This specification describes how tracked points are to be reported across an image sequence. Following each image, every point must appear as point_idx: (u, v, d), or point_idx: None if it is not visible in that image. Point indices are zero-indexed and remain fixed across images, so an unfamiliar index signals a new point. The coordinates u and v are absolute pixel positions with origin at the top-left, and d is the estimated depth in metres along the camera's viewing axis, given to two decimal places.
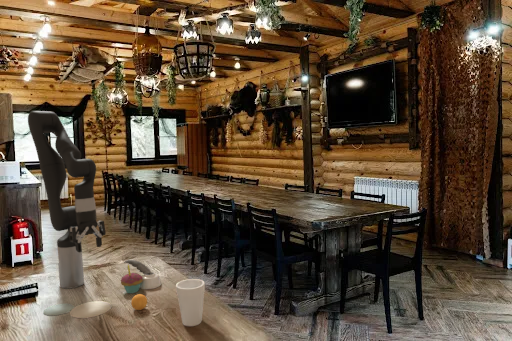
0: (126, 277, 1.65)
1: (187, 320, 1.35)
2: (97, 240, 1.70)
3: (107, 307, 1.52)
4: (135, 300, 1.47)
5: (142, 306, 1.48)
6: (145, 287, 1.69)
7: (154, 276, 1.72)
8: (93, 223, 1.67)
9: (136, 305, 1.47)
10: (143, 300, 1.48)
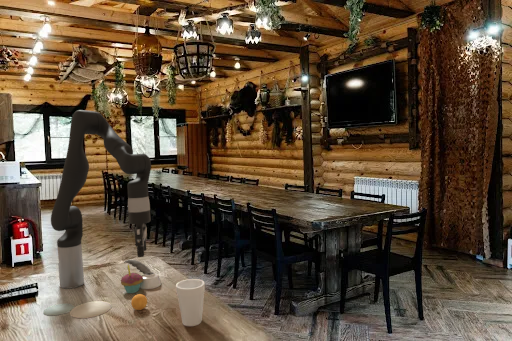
0: (126, 277, 1.65)
1: (187, 320, 1.35)
2: None
3: (107, 307, 1.52)
4: (135, 300, 1.47)
5: (142, 306, 1.48)
6: (145, 287, 1.69)
7: (154, 276, 1.72)
8: None
9: (136, 305, 1.47)
10: (143, 300, 1.48)
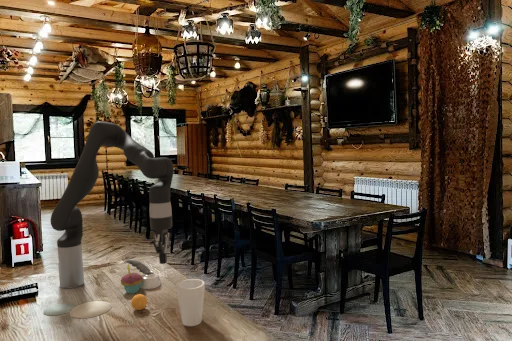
0: (126, 277, 1.65)
1: (187, 320, 1.35)
2: None
3: (107, 307, 1.52)
4: (135, 300, 1.47)
5: (142, 306, 1.48)
6: (145, 287, 1.69)
7: (154, 276, 1.72)
8: None
9: (136, 305, 1.47)
10: (143, 300, 1.48)
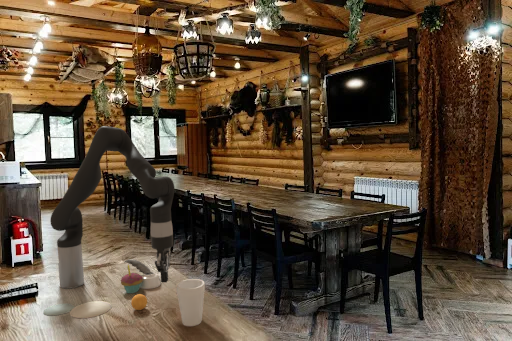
0: (126, 277, 1.65)
1: (187, 320, 1.35)
2: None
3: (107, 307, 1.52)
4: (135, 300, 1.47)
5: (142, 306, 1.48)
6: (144, 287, 1.69)
7: (153, 276, 1.72)
8: None
9: (136, 305, 1.47)
10: (143, 300, 1.48)
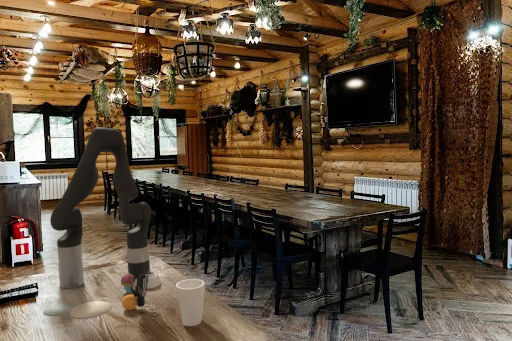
0: (126, 277, 1.65)
1: (187, 320, 1.35)
2: None
3: (107, 307, 1.52)
4: (123, 303, 1.47)
5: (132, 301, 1.47)
6: None
7: (153, 276, 1.72)
8: None
9: (127, 306, 1.47)
10: (128, 298, 1.48)
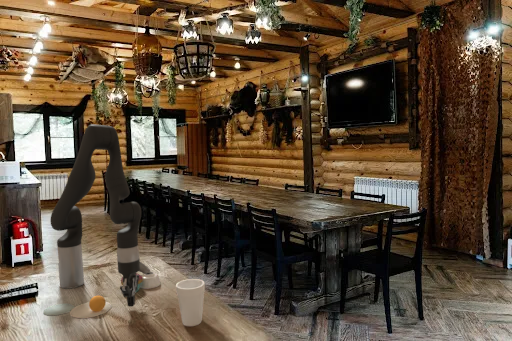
0: None
1: (187, 320, 1.35)
2: None
3: (107, 307, 1.52)
4: (98, 302, 1.47)
5: (95, 310, 1.48)
6: (144, 287, 1.70)
7: (153, 276, 1.72)
8: None
9: (94, 305, 1.47)
10: (101, 308, 1.48)
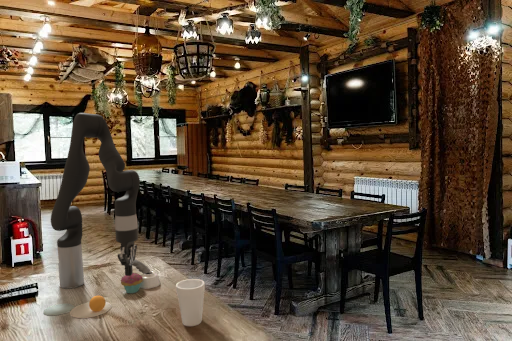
0: (126, 277, 1.65)
1: (187, 320, 1.35)
2: None
3: (107, 307, 1.52)
4: (98, 302, 1.47)
5: (95, 310, 1.48)
6: (143, 286, 1.70)
7: (153, 276, 1.72)
8: None
9: (94, 305, 1.47)
10: (101, 308, 1.48)
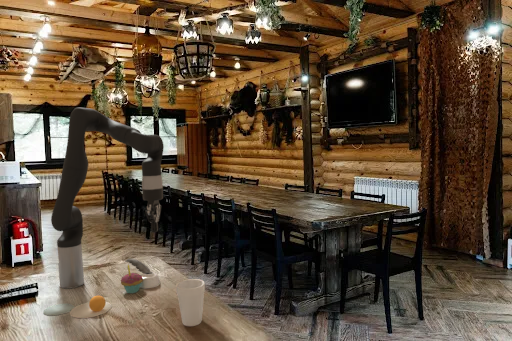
0: (126, 277, 1.65)
1: (187, 320, 1.35)
2: None
3: (107, 307, 1.52)
4: (98, 302, 1.47)
5: (95, 310, 1.48)
6: (143, 286, 1.70)
7: (152, 276, 1.72)
8: None
9: (94, 305, 1.47)
10: (101, 308, 1.48)
